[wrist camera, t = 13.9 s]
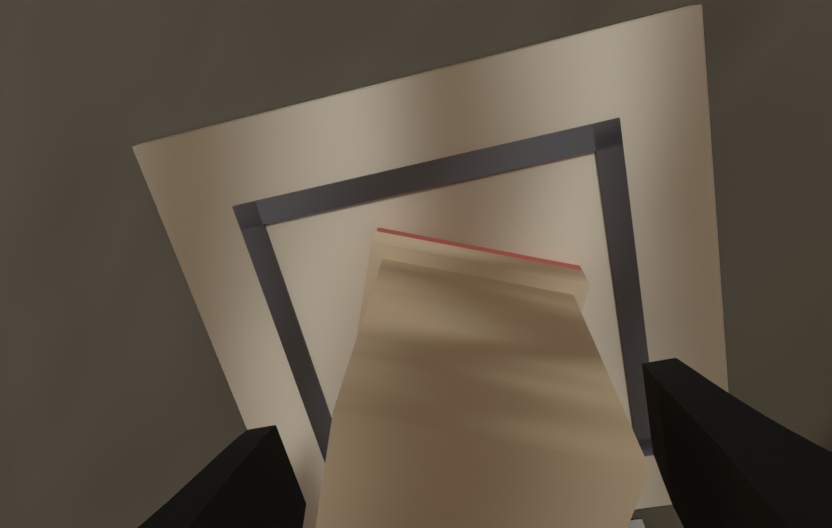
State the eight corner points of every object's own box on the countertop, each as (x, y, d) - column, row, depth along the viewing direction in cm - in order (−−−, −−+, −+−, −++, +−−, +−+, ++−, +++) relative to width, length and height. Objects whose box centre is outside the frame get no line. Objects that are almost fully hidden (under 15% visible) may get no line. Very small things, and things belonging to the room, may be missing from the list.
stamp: (580, 265, 15) (679, 456, 8) (529, 432, 16) (576, 696, 10) (377, 227, 15) (313, 387, 8) (350, 398, 16) (279, 641, 10)
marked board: (690, 5, 13) (703, 4, 12) (726, 480, 17) (736, 498, 17) (144, 142, 15) (130, 147, 14) (302, 539, 19) (297, 557, 19)
